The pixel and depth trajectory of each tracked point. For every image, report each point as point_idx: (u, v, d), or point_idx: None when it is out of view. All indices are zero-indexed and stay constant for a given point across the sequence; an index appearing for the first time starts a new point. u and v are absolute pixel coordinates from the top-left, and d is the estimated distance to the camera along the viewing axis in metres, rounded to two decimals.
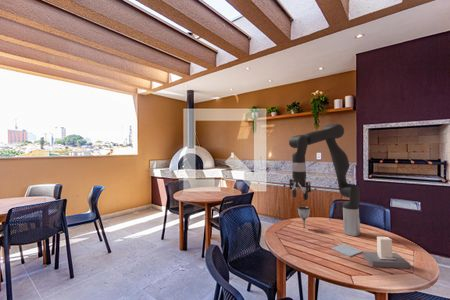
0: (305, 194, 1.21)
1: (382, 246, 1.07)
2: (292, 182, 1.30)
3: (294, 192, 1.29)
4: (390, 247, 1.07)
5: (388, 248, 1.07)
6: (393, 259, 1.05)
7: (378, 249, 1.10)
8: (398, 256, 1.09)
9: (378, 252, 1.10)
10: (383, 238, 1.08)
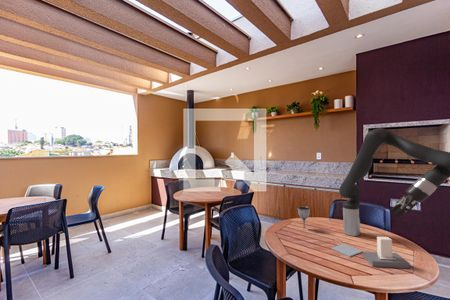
0: None
1: (382, 246, 1.07)
2: None
3: None
4: (390, 247, 1.07)
5: (387, 248, 1.07)
6: (393, 259, 1.05)
7: (378, 249, 1.10)
8: (398, 256, 1.09)
9: (378, 252, 1.10)
10: (383, 238, 1.08)
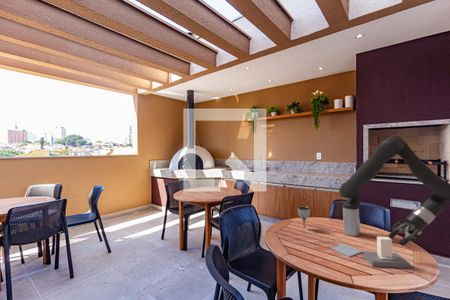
0: None
1: (382, 246, 1.07)
2: None
3: None
4: (390, 247, 1.07)
5: (387, 248, 1.07)
6: (393, 259, 1.05)
7: (378, 249, 1.10)
8: (398, 256, 1.09)
9: (378, 252, 1.10)
10: (383, 238, 1.08)
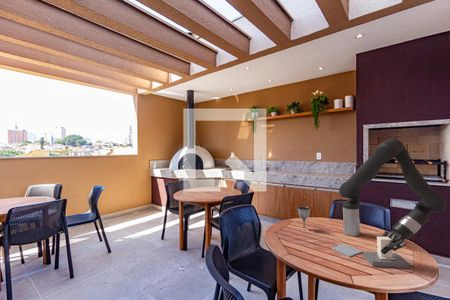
0: None
1: (382, 246, 1.07)
2: None
3: None
4: None
5: None
6: (393, 259, 1.05)
7: (378, 249, 1.10)
8: (398, 256, 1.09)
9: (378, 252, 1.10)
10: (383, 238, 1.08)
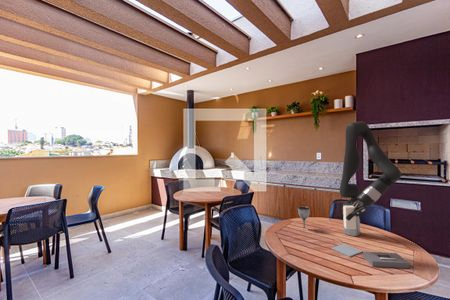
0: None
1: (347, 213, 1.19)
2: None
3: None
4: None
5: None
6: (393, 259, 1.05)
7: (344, 217, 1.22)
8: (398, 256, 1.09)
9: (344, 219, 1.22)
10: (348, 206, 1.20)
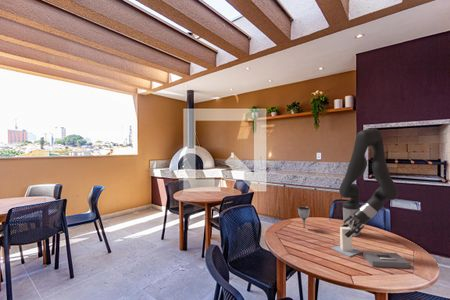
0: None
1: (344, 235, 1.21)
2: None
3: None
4: (350, 236, 1.20)
5: None
6: (393, 259, 1.05)
7: (340, 238, 1.23)
8: (398, 256, 1.09)
9: (340, 240, 1.23)
10: (344, 228, 1.22)
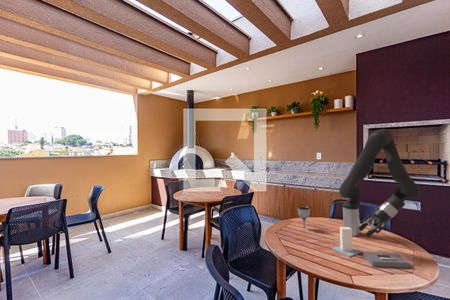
0: None
1: (344, 235, 1.21)
2: None
3: None
4: (350, 236, 1.20)
5: (348, 237, 1.20)
6: (393, 259, 1.05)
7: (340, 238, 1.23)
8: (398, 256, 1.09)
9: (340, 240, 1.23)
10: (344, 228, 1.22)
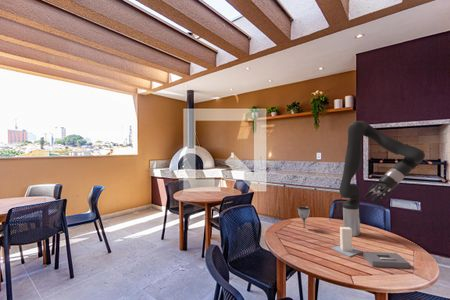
0: None
1: (344, 235, 1.21)
2: None
3: None
4: (350, 236, 1.20)
5: (348, 237, 1.20)
6: (393, 259, 1.05)
7: (340, 238, 1.23)
8: (398, 256, 1.09)
9: (340, 240, 1.23)
10: (344, 228, 1.22)
